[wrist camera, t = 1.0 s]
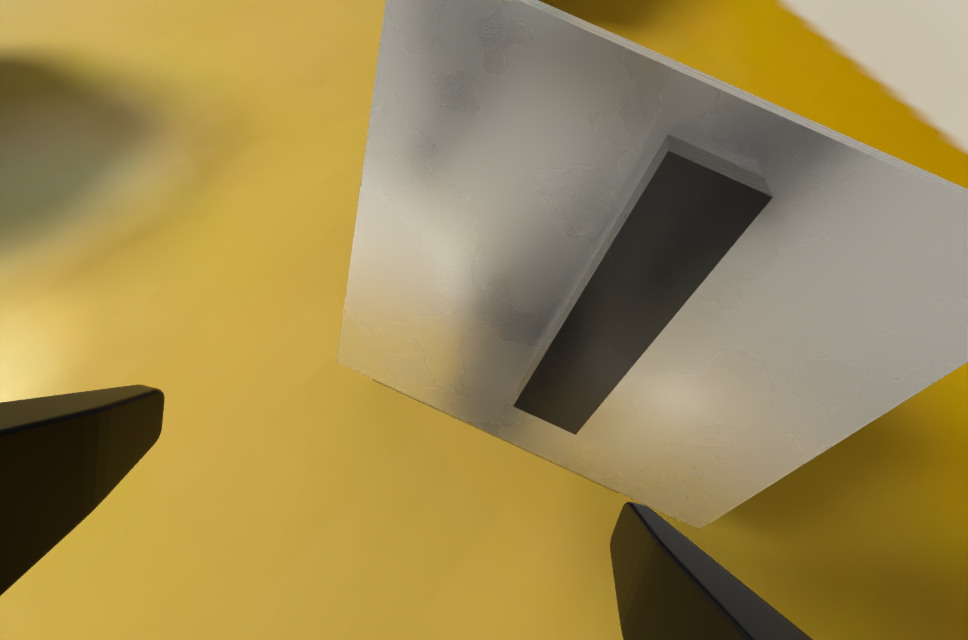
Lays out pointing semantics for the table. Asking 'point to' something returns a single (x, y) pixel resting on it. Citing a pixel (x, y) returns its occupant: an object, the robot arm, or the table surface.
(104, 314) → the table surface
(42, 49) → the table surface
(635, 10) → the table surface
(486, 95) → the lid
